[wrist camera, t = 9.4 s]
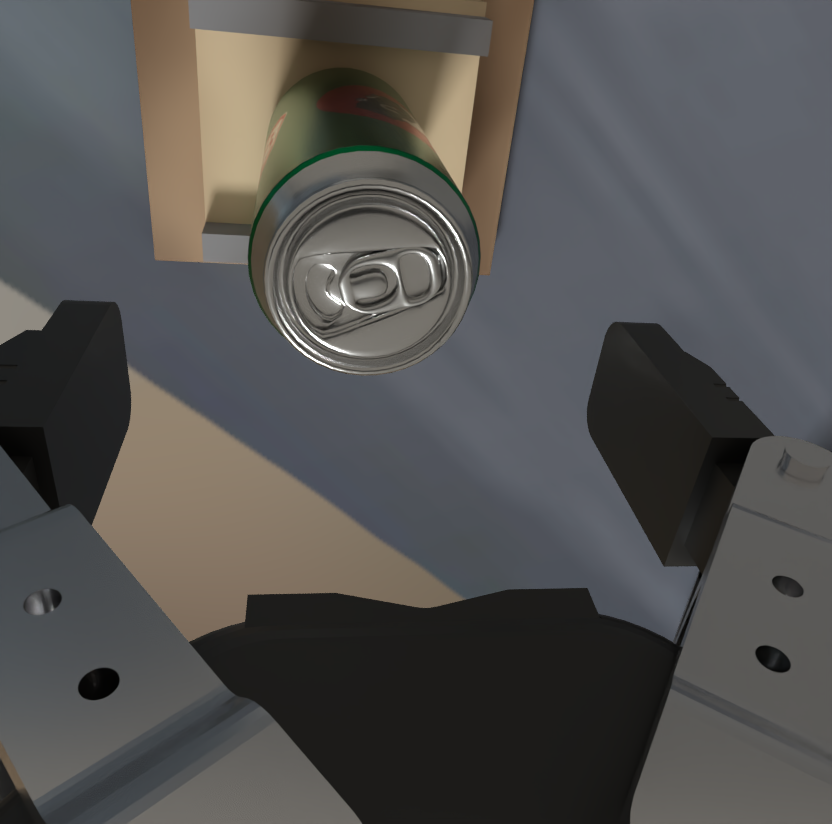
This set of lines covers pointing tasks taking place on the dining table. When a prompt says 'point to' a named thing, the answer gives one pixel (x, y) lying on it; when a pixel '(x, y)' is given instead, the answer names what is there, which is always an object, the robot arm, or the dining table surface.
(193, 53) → the display stand
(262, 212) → the soda can
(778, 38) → the dining table surface
